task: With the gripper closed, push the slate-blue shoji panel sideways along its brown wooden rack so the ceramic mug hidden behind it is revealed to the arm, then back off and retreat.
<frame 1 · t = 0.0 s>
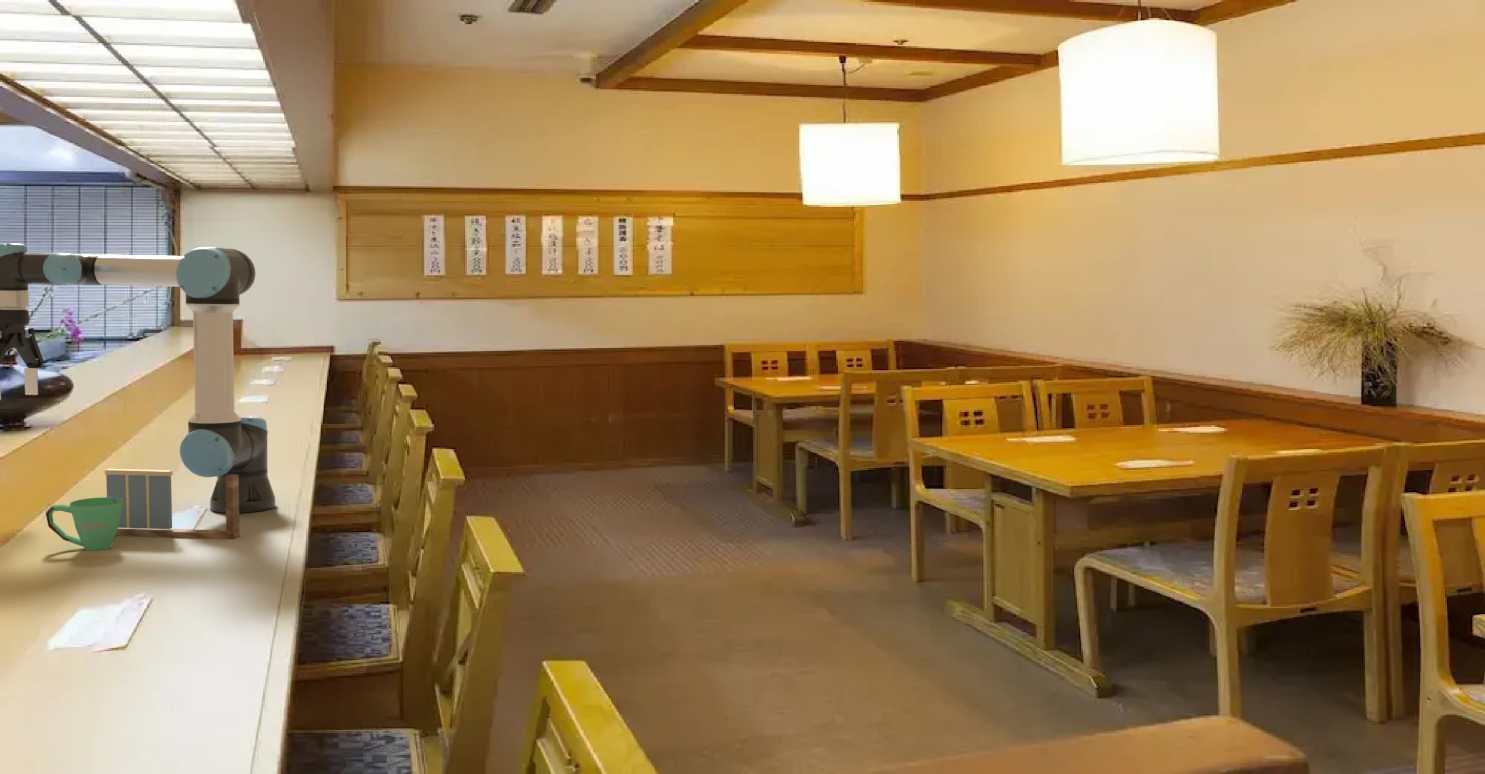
hand: (13, 397, 278), 28 cm above the bar counter, fingers open, 13 cm apart
mug: (85, 549, 246), on the bar counter
panel: (139, 499, 259), point 8 cm above the bar counter, slide at 0.0 cm
brown wooden rack: (168, 535, 259), on the bar counter
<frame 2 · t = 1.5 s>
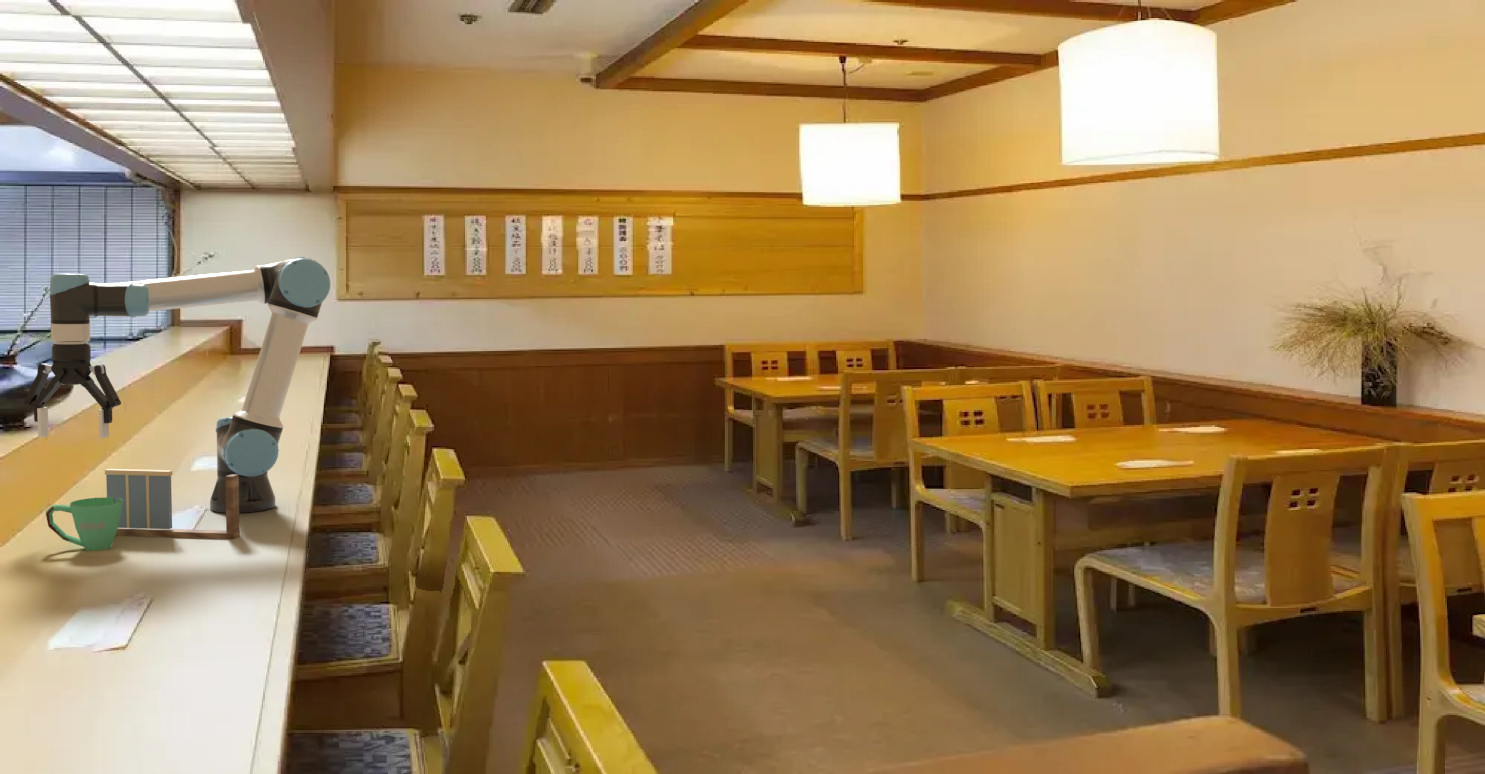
hand: (73, 437, 261), 21 cm above the bar counter, fingers open, 13 cm apart
nothing on the bar counter moved.
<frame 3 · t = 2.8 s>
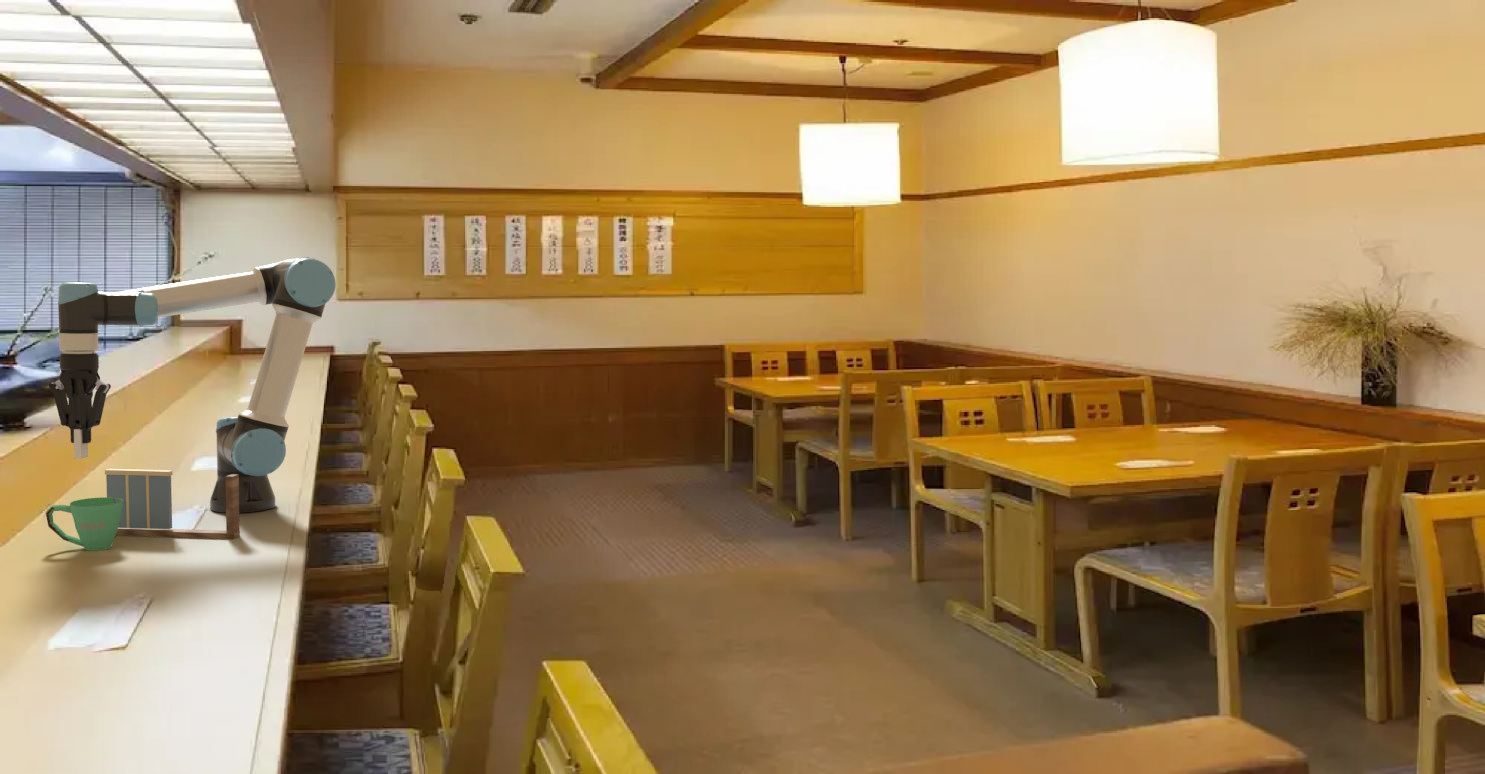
hand: (81, 457, 259), 17 cm above the bar counter, fingers closed
nothing on the bar counter moved.
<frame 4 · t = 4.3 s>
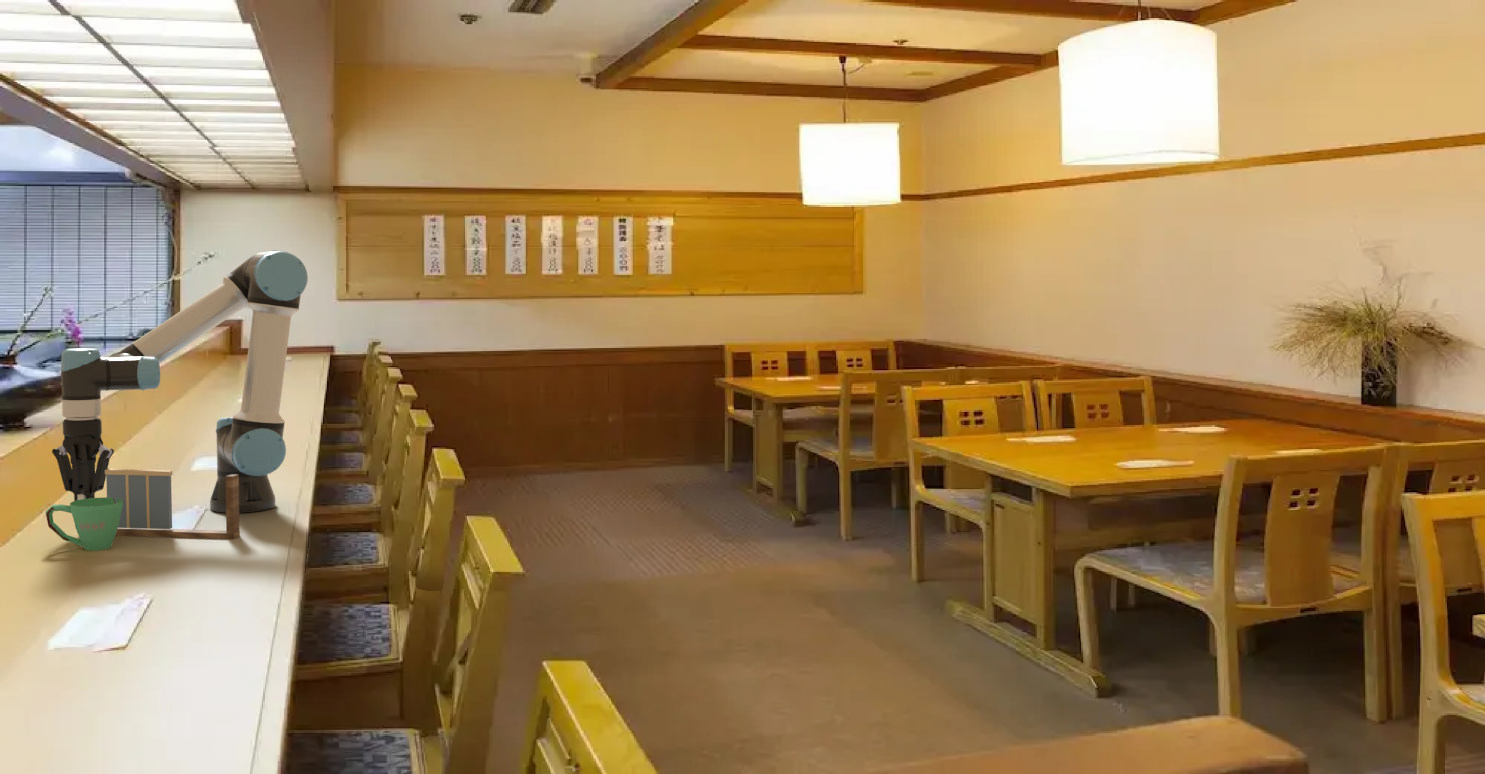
hand: (85, 522, 260), 2 cm above the bar counter, fingers closed
nothing on the bar counter moved.
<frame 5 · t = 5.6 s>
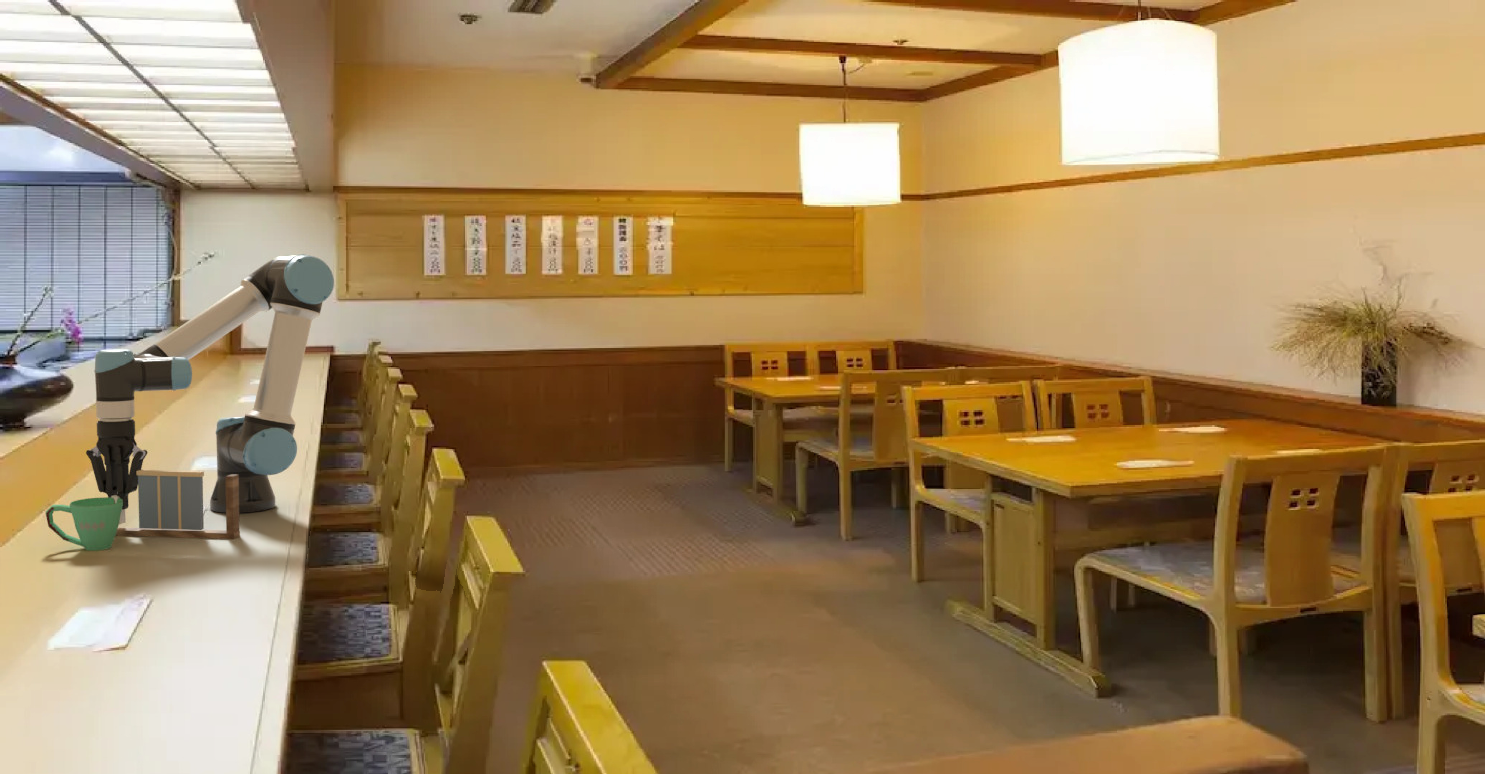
hand: (118, 523, 260), 2 cm above the bar counter, fingers closed
panel: (170, 499, 259), point 8 cm above the bar counter, slide at 7.2 cm, touching hand
everything else where it was.
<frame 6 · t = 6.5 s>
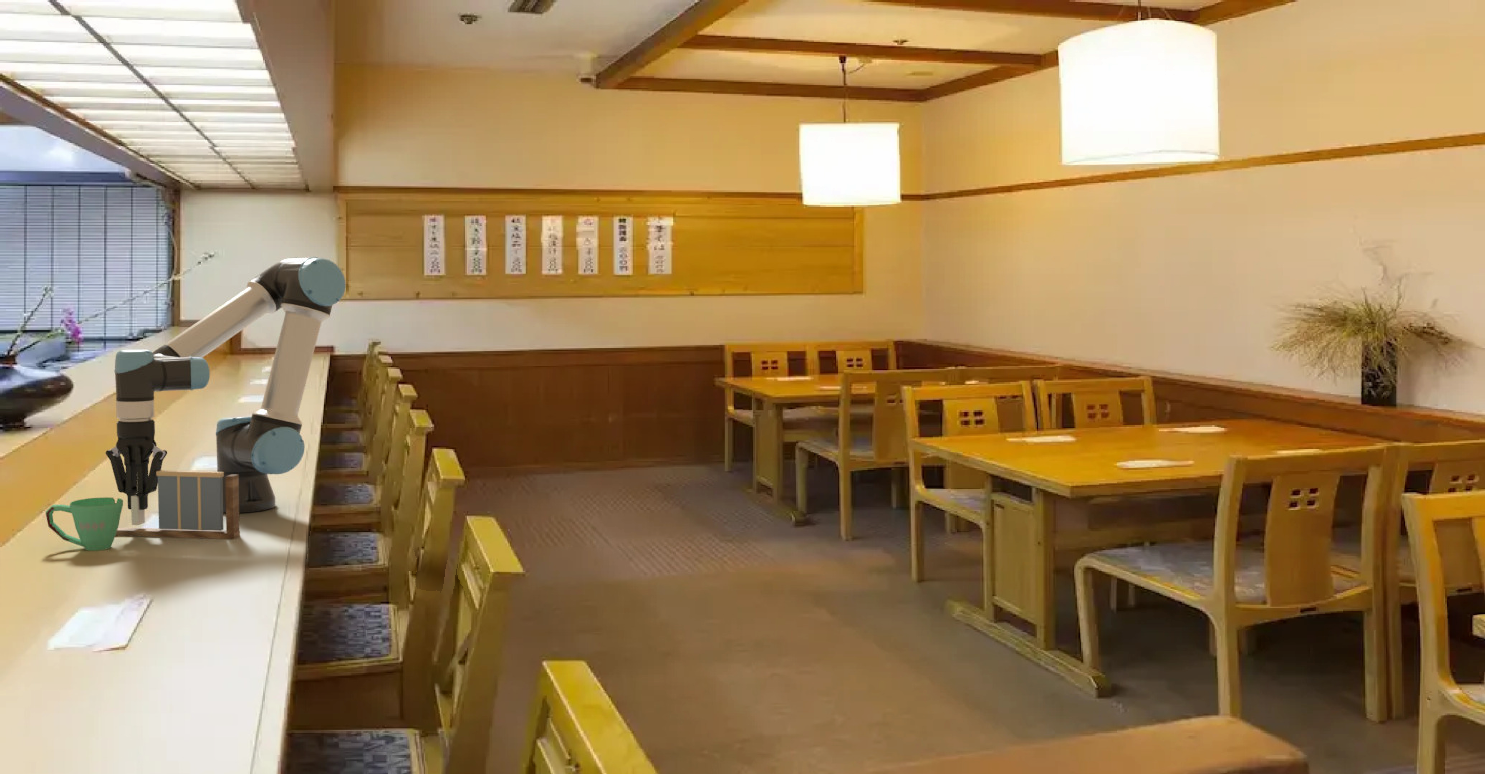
hand: (138, 523, 260), 2 cm above the bar counter, fingers closed
panel: (190, 500, 259), point 8 cm above the bar counter, slide at 11.6 cm, touching hand
everything else where it was.
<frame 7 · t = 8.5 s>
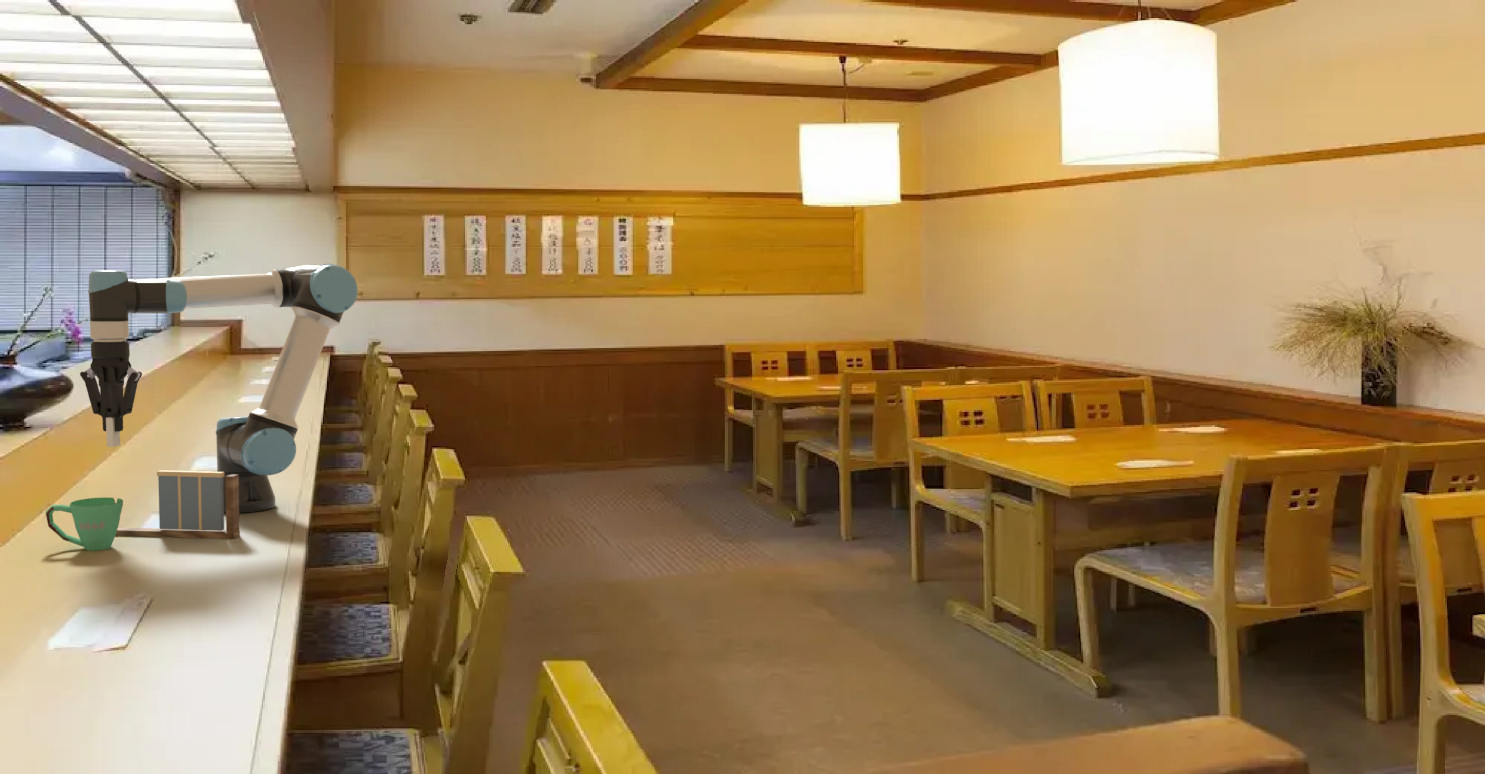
hand: (113, 445, 259), 20 cm above the bar counter, fingers closed
panel: (191, 500, 259), point 8 cm above the bar counter, slide at 11.8 cm
everything else where it was.
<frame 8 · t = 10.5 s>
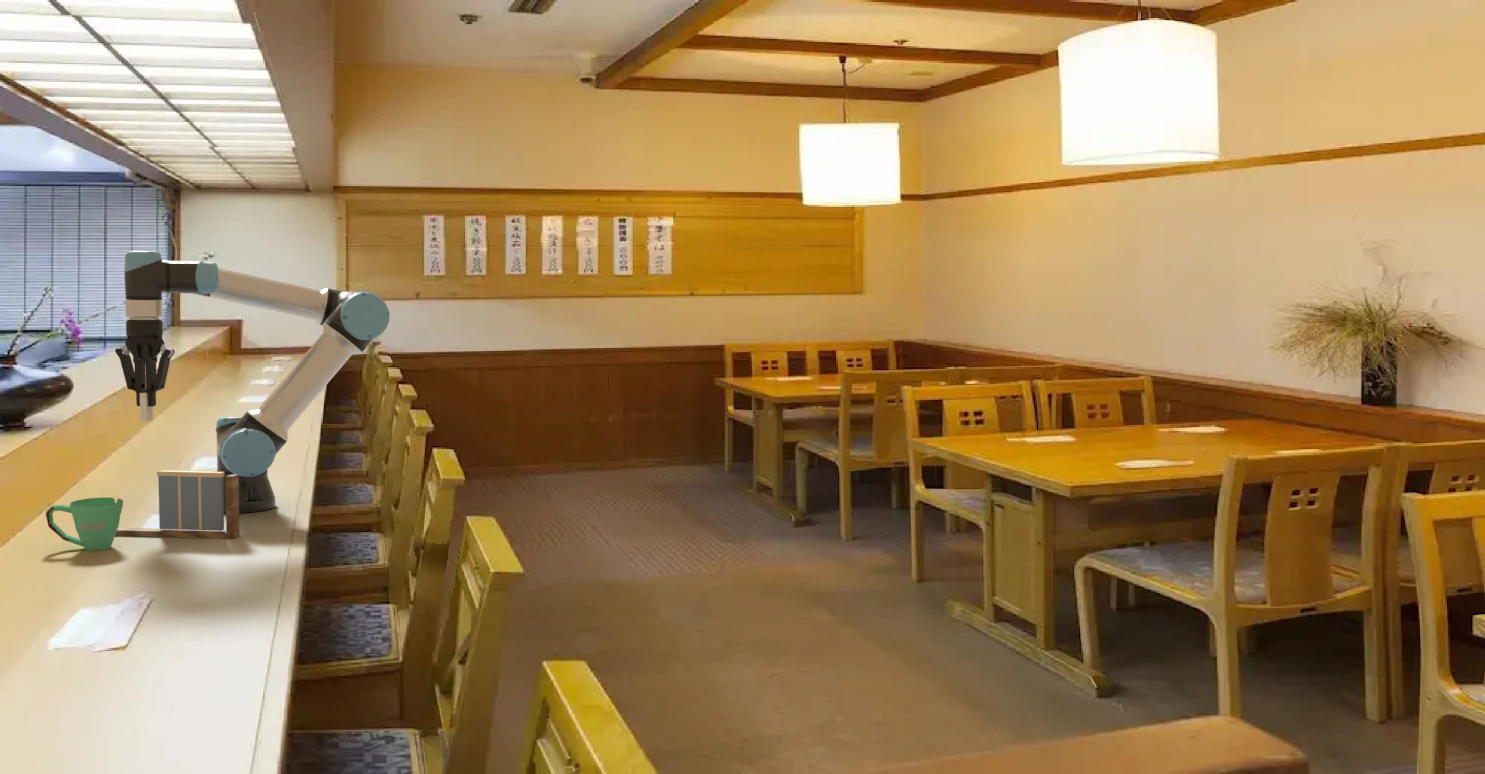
hand: (146, 420, 269), 24 cm above the bar counter, fingers closed
nothing on the bar counter moved.
at the end: panel slide at 11.8 cm; mug moved 0.2 cm from its start; mug tilted 0° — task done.
